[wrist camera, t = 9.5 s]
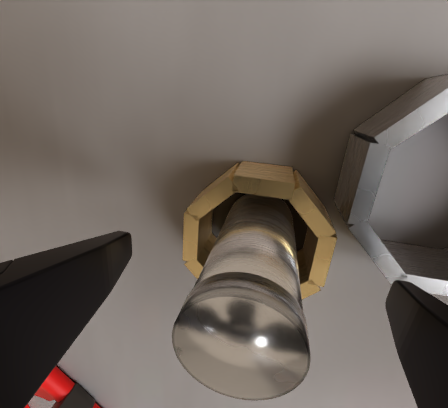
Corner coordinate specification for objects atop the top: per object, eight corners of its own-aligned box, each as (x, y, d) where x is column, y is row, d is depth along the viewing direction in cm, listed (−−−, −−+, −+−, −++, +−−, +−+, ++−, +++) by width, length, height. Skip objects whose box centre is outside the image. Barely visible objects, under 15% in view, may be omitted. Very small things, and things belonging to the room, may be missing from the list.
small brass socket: (335, 172, 11) (350, 190, 9) (308, 283, 13) (314, 321, 11) (203, 155, 12) (185, 168, 9) (197, 262, 14) (181, 294, 11)
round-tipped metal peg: (300, 196, 12) (325, 312, 5) (287, 256, 13) (295, 413, 6) (230, 186, 12) (172, 281, 6) (224, 245, 13) (171, 381, 7)
